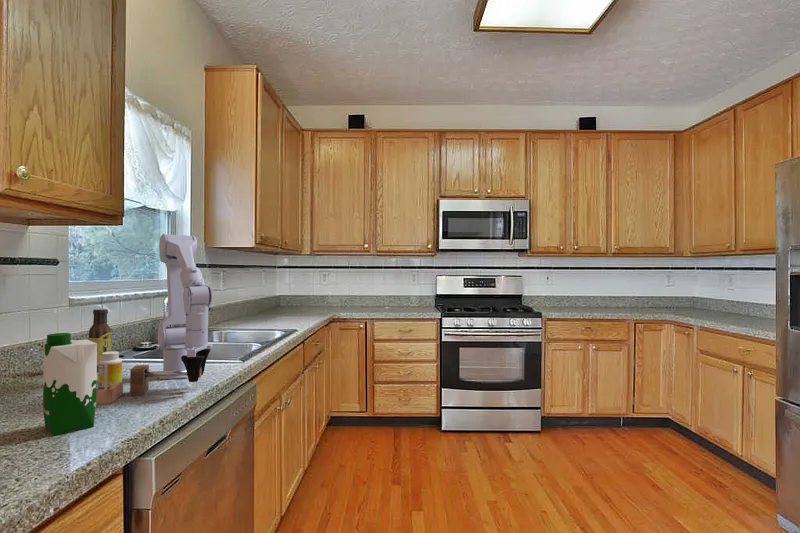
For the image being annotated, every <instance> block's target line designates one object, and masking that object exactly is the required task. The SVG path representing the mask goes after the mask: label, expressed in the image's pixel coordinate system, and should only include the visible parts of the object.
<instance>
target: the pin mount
mask: <svg viewBox="0 0 800 533" xmlns="http://www.w3.org/2000/svg"><path fill="white" fill-rule="evenodd" d="M149 368H150V364H136V365H135V366H133V367H132V368H130V370H129V371H130V372H129V374H130V375H129V376H130V378H129V379H130V380H129V381H130V382H129V383H130V384H129V397H136V396H137V397H138V396H139V397H140V396H141V397H142V396H144V395H145V394H146V393H147V392H148V391H149V390H150V388H149V383H150V382H149V380H150V377H145V372H150V369H149Z"/></svg>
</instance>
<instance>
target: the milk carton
mask: <svg viewBox="0 0 800 533" xmlns="http://www.w3.org/2000/svg"><path fill="white" fill-rule="evenodd" d="M71 335H72V334H71V333H70V332H60V333H59V332H58V333H57V332H56V333H48V334H46V342H44V343H43V371H42V372H43V376H42V377H43V379H42V380H43V381H42V384H43V387H42V410H43V420H44V427H45V428H46V430H47V431H48V432H49V433H50V434H51V435H52V436H57V435H62V434H66V433H72V432H76V431H80V430H81V431H82V430H85V429H91V428H94V427H95V426H94V425H95V417H96V408H97V404H96V390H98V375H97V374H98V371H97V343H94V342H92V341H89V340H88V339H77V340H74V339H72V338H71V337H72V336H71Z"/></svg>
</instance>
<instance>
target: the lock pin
mask: <svg viewBox="0 0 800 533" xmlns="http://www.w3.org/2000/svg"><path fill="white" fill-rule="evenodd" d="M185 375H187V371H186V370H180V371H163V370H158V371H157V370H156V371H155V370H153V371H149V372H145V377H149V378H153V377H155V378H156V377H158V378H159V377H160V376H185ZM202 376H203V375H202V367H200V373H199V378H201V377H202ZM199 378H198V379H199Z"/></svg>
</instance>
